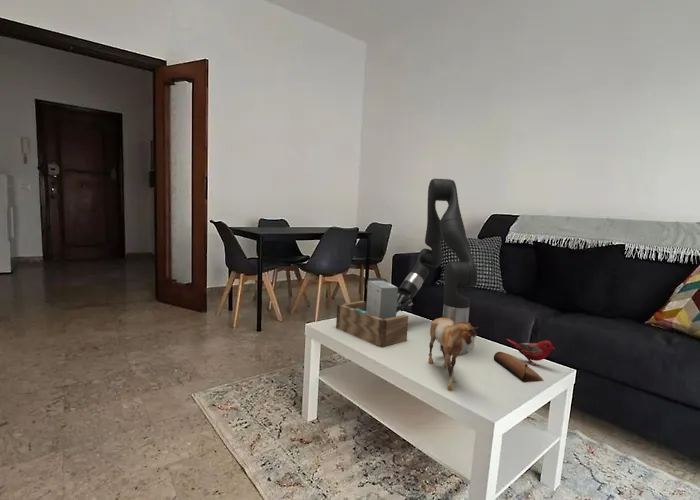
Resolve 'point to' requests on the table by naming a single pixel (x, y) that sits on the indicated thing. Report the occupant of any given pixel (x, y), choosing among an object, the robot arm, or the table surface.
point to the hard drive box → (381, 299)
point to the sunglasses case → (517, 367)
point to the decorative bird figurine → (534, 350)
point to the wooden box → (371, 325)
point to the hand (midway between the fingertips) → (390, 316)
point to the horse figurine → (451, 341)
